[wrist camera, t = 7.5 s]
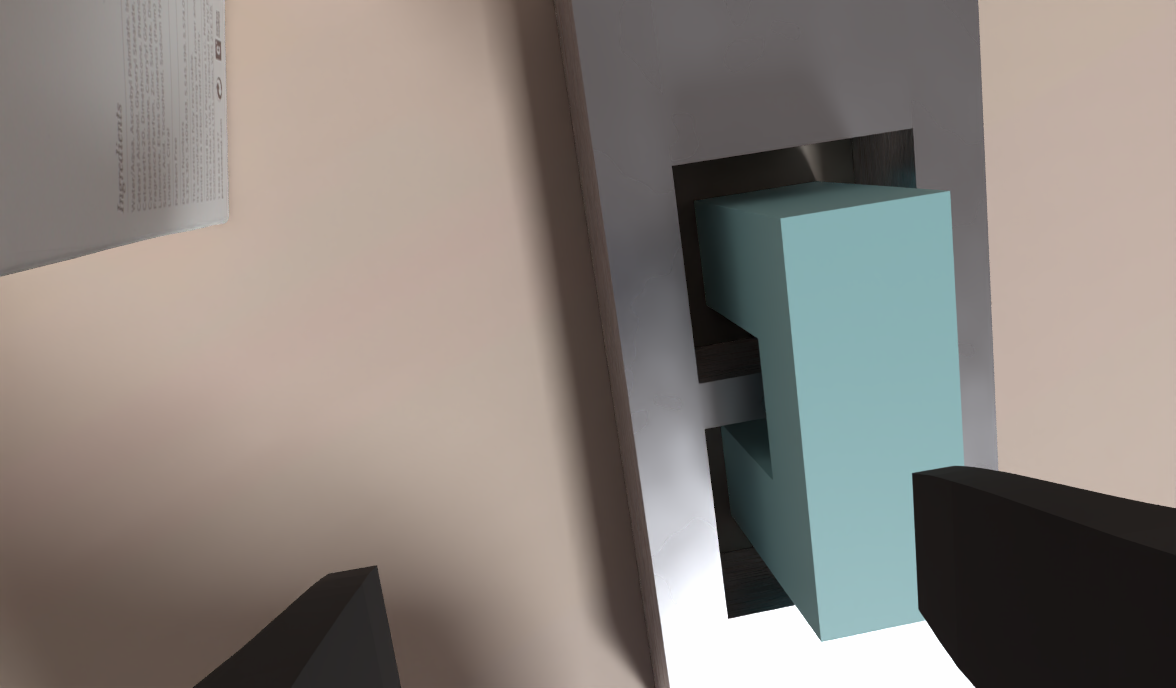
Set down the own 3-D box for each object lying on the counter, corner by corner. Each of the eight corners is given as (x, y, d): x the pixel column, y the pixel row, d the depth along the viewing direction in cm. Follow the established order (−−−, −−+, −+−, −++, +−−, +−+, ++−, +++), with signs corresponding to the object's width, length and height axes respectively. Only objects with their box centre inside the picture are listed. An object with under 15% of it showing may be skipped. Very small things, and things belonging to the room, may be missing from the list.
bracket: (843, 492, 22) (972, 611, 17) (730, 514, 22) (821, 642, 16) (816, 181, 21) (950, 190, 15) (693, 200, 20) (780, 218, 15)
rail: (943, 646, 24) (1008, 714, 21) (658, 706, 23) (684, 786, 20) (900, -58, 20) (974, -95, 17) (552, -10, 19) (565, -41, 16)
